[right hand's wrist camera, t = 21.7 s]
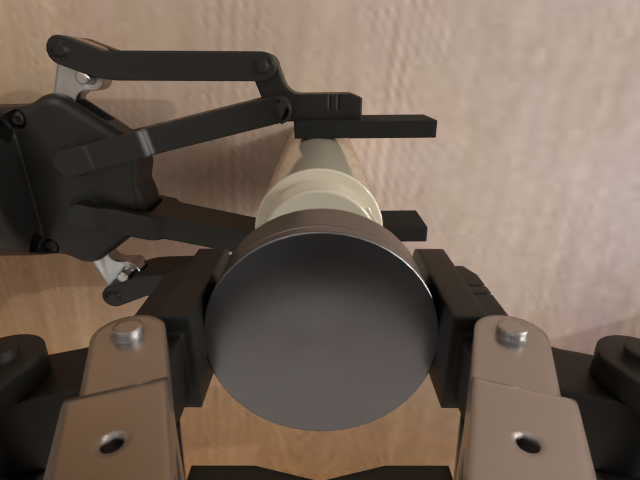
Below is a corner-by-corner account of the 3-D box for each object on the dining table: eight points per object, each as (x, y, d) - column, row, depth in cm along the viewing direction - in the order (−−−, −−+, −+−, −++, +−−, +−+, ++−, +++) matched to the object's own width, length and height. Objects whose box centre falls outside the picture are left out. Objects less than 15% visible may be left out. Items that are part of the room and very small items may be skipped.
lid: (406, 185, 10) (421, 205, 8) (436, 367, 11) (453, 410, 10) (190, 234, 10) (167, 261, 8) (252, 401, 12) (242, 448, 10)
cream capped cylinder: (307, 199, 29) (297, 329, 15) (271, 143, 27) (220, 225, 13) (364, 166, 28) (413, 268, 14) (330, 105, 26) (344, 150, 12)
